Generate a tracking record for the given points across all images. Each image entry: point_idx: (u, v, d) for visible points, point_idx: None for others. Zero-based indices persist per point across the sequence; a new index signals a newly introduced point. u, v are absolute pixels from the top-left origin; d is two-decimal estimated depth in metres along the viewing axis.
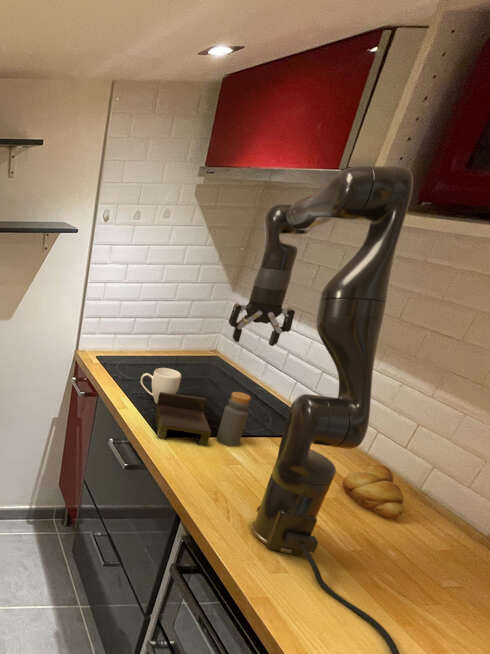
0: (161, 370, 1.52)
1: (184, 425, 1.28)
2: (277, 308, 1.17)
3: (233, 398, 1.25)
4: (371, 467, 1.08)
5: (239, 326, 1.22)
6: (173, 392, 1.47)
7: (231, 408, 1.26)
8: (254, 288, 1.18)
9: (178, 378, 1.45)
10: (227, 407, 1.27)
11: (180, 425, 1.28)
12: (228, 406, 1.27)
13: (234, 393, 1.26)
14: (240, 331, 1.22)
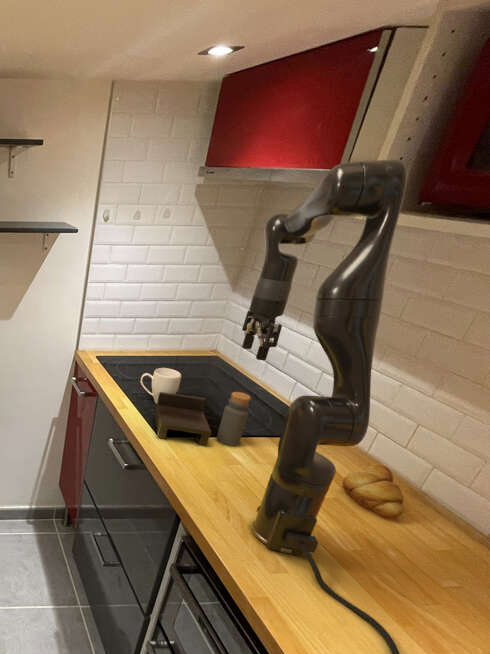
0: (161, 370, 1.52)
1: (184, 425, 1.28)
2: (264, 319, 1.15)
3: (233, 398, 1.25)
4: (371, 467, 1.08)
5: (245, 331, 1.24)
6: (173, 392, 1.47)
7: (231, 408, 1.26)
8: None
9: (178, 378, 1.45)
10: (227, 407, 1.27)
11: (180, 425, 1.28)
12: (228, 406, 1.27)
13: (234, 393, 1.26)
14: (245, 337, 1.24)
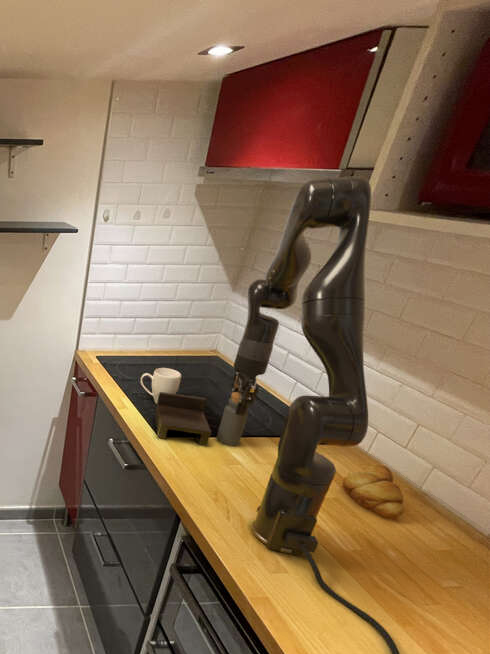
0: (161, 370, 1.52)
1: (184, 425, 1.28)
2: (246, 377, 1.20)
3: (233, 398, 1.25)
4: (371, 467, 1.08)
5: (233, 388, 1.28)
6: (173, 392, 1.47)
7: (231, 408, 1.26)
8: None
9: (178, 378, 1.45)
10: (227, 407, 1.27)
11: (180, 425, 1.28)
12: (228, 406, 1.27)
13: (234, 393, 1.26)
14: None
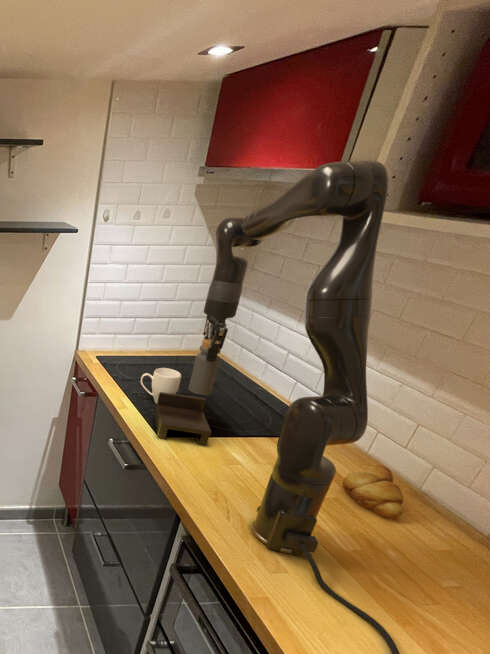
0: (161, 370, 1.52)
1: (184, 425, 1.28)
2: (215, 320, 1.17)
3: (204, 344, 1.22)
4: (371, 467, 1.08)
5: (204, 336, 1.25)
6: (173, 392, 1.47)
7: (202, 355, 1.23)
8: None
9: (178, 378, 1.45)
10: (198, 355, 1.24)
11: (180, 425, 1.28)
12: (199, 354, 1.24)
13: (205, 340, 1.23)
14: None
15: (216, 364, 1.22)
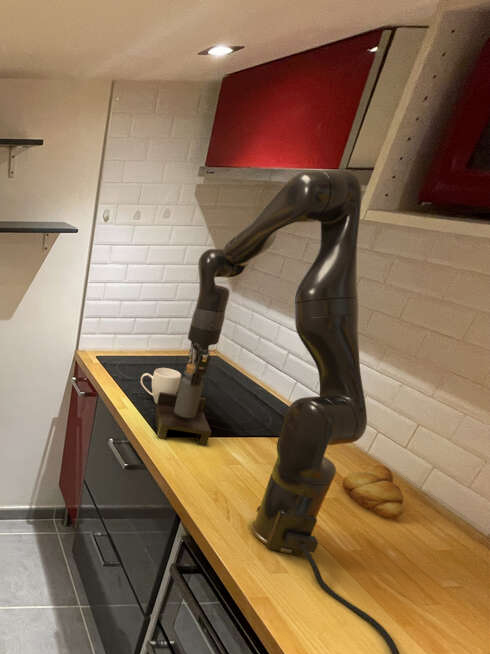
0: (161, 370, 1.52)
1: (184, 425, 1.28)
2: (199, 347, 1.21)
3: (188, 369, 1.25)
4: (371, 467, 1.08)
5: (189, 360, 1.29)
6: (173, 392, 1.47)
7: (186, 379, 1.26)
8: None
9: (178, 378, 1.45)
10: (183, 379, 1.28)
11: (180, 425, 1.28)
12: (184, 378, 1.28)
13: (189, 364, 1.26)
14: None
15: (200, 388, 1.25)
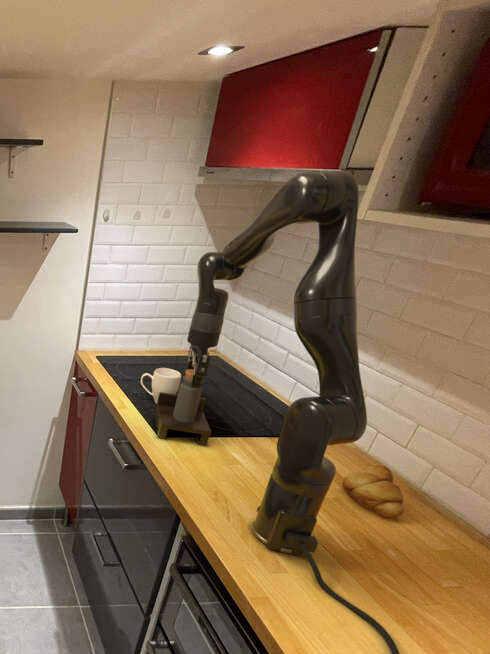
0: (161, 370, 1.52)
1: (184, 425, 1.28)
2: (198, 349, 1.21)
3: (187, 375, 1.26)
4: (371, 467, 1.08)
5: (188, 359, 1.30)
6: (173, 392, 1.47)
7: (185, 385, 1.27)
8: None
9: (178, 378, 1.45)
10: (182, 384, 1.28)
11: (180, 425, 1.28)
12: (183, 383, 1.28)
13: (188, 370, 1.27)
14: (188, 365, 1.30)
15: (199, 394, 1.26)
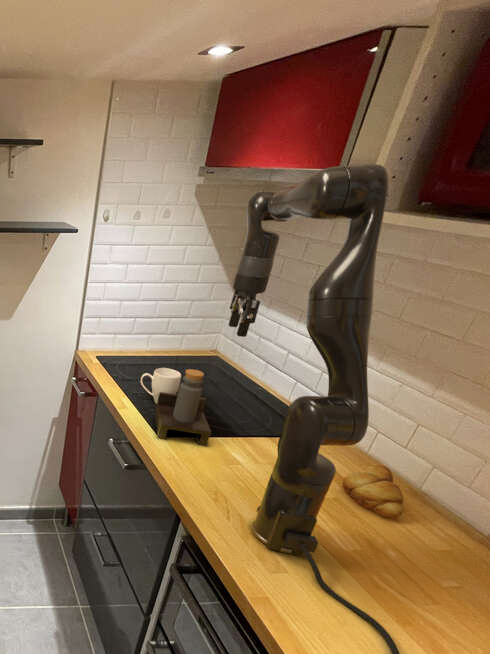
0: (161, 370, 1.52)
1: (184, 425, 1.28)
2: (245, 296, 1.17)
3: (187, 375, 1.26)
4: (371, 467, 1.08)
5: (231, 310, 1.26)
6: (173, 392, 1.47)
7: (185, 385, 1.27)
8: None
9: (178, 378, 1.45)
10: (182, 384, 1.28)
11: (180, 425, 1.28)
12: (183, 383, 1.28)
13: (188, 370, 1.27)
14: (231, 315, 1.26)
15: (199, 394, 1.26)
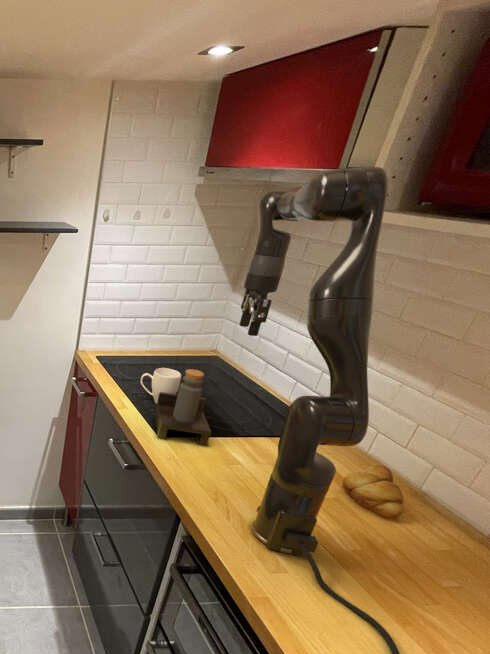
0: (161, 370, 1.52)
1: (184, 425, 1.28)
2: (256, 295, 1.17)
3: (187, 375, 1.26)
4: (371, 467, 1.08)
5: (242, 309, 1.26)
6: (173, 392, 1.47)
7: (185, 385, 1.27)
8: None
9: (178, 378, 1.45)
10: (182, 384, 1.28)
11: (180, 425, 1.28)
12: (183, 383, 1.28)
13: (188, 370, 1.27)
14: (242, 314, 1.26)
15: (199, 394, 1.26)
